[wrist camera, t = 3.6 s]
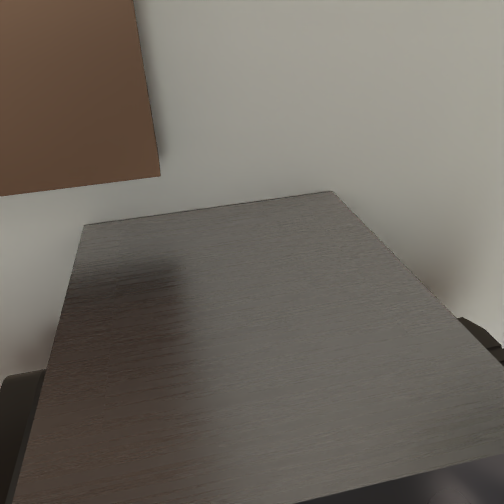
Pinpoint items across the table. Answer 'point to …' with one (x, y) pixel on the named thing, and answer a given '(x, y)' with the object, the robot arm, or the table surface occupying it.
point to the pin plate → (72, 96)
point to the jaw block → (260, 370)
